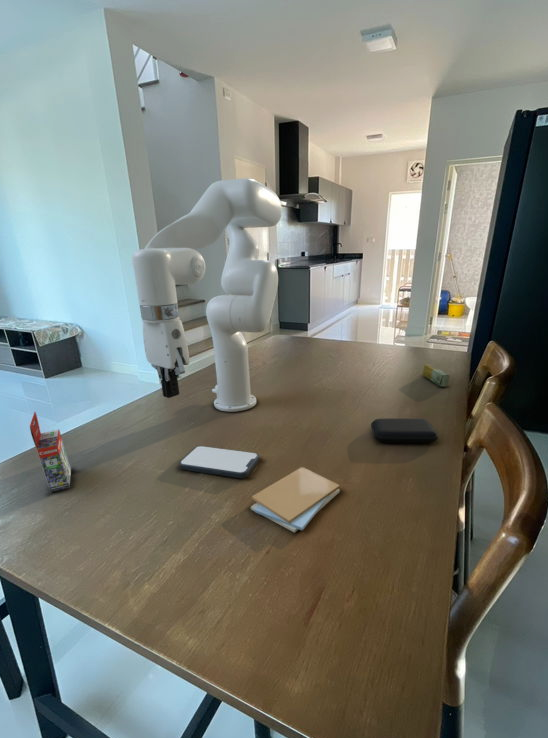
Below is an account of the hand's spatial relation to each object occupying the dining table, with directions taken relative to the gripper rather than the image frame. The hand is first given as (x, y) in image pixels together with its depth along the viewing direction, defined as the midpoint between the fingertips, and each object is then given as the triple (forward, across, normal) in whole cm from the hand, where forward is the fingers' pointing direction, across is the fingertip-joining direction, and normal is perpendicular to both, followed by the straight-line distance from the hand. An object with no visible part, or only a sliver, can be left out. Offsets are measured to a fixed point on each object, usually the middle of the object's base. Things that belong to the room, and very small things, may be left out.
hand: (171, 395), depth 86 cm
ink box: (+14, +8, +23) cm, 28 cm away
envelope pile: (+13, -35, -1) cm, 37 cm away
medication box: (+12, -33, -80) cm, 87 cm away
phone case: (+13, -14, -1) cm, 19 cm away
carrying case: (+13, -40, -37) cm, 56 cm away
